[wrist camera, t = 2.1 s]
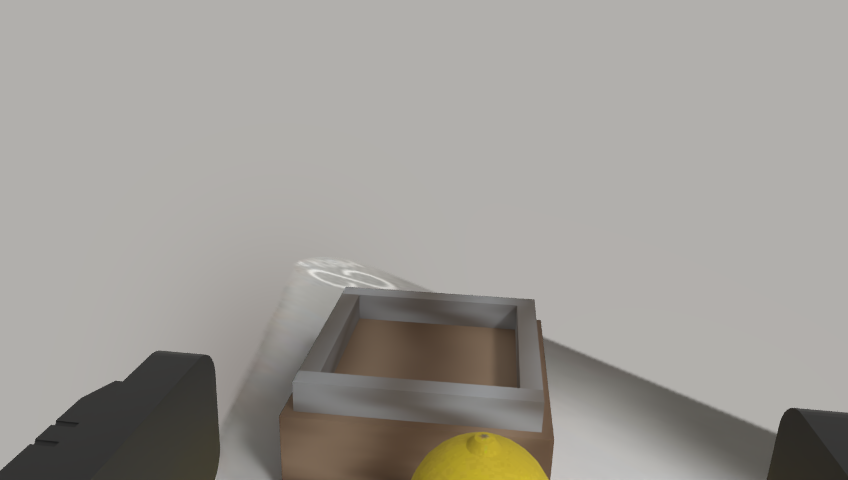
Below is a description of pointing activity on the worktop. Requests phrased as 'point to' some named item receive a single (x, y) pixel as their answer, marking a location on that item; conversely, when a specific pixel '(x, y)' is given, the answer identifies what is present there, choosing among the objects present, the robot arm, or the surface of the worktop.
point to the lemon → (479, 460)
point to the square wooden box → (414, 384)
